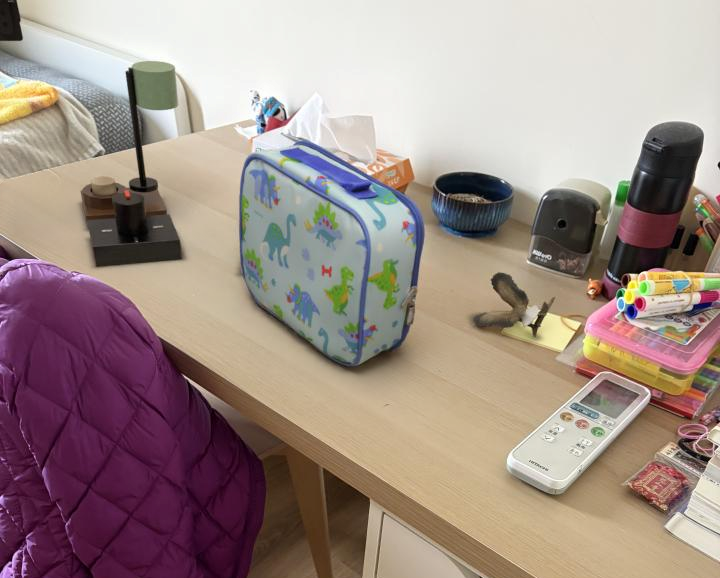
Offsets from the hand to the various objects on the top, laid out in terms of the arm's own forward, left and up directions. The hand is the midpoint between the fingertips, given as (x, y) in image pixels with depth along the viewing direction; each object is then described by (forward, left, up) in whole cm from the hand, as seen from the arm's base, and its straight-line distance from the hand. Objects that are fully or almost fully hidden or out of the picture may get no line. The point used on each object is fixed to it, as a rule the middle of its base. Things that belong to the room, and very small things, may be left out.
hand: (8, 31), depth 90 cm
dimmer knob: (+11, -8, -23) cm, 27 cm away
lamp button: (+9, +5, -23) cm, 25 cm away
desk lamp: (+17, +5, -22) cm, 28 cm away
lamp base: (+11, +5, -26) cm, 29 cm away
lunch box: (+31, -35, -26) cm, 54 cm away
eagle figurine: (+56, -41, -26) cm, 74 cm away
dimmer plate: (+11, -8, -26) cm, 30 cm away
